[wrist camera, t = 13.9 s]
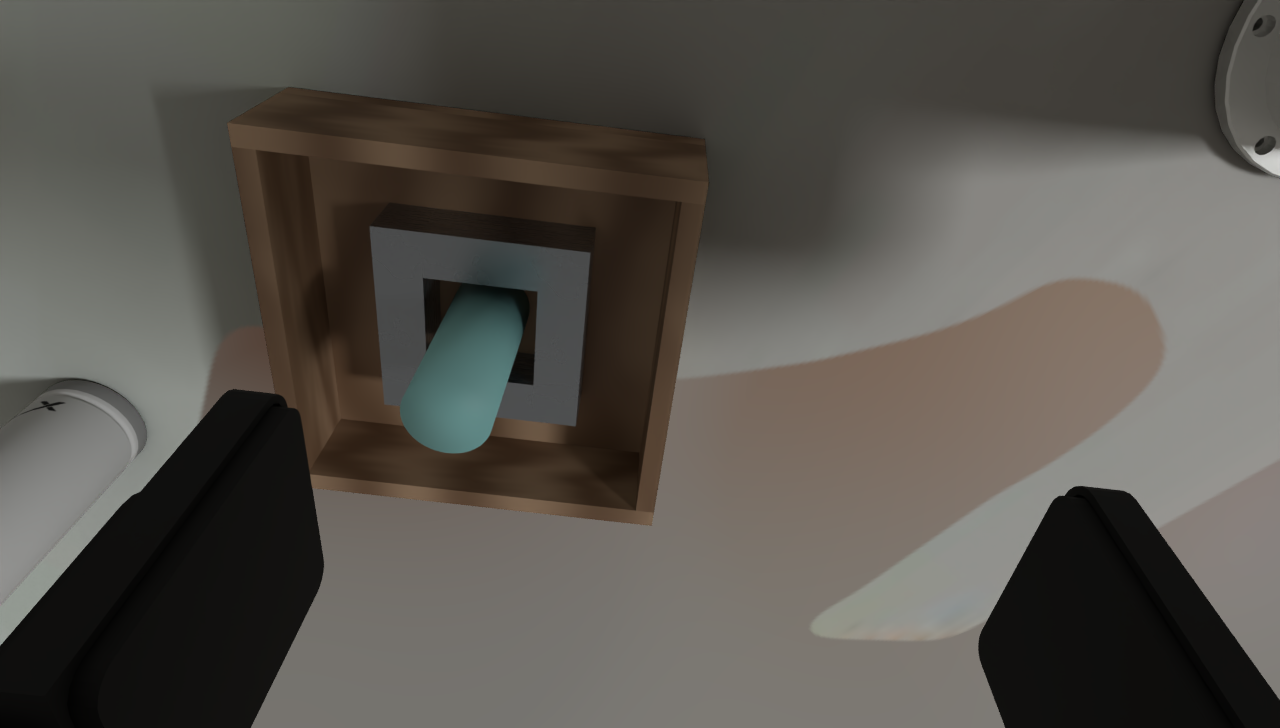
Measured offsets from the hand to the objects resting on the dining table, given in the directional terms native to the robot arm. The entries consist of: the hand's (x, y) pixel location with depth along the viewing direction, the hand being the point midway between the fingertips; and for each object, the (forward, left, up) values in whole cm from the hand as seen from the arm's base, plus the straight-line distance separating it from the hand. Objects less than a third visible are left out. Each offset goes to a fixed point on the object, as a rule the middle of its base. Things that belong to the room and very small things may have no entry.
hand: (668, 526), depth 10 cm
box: (+8, +14, -30) cm, 34 cm away
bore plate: (+8, +14, -30) cm, 34 cm away
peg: (+8, +14, -29) cm, 33 cm away
